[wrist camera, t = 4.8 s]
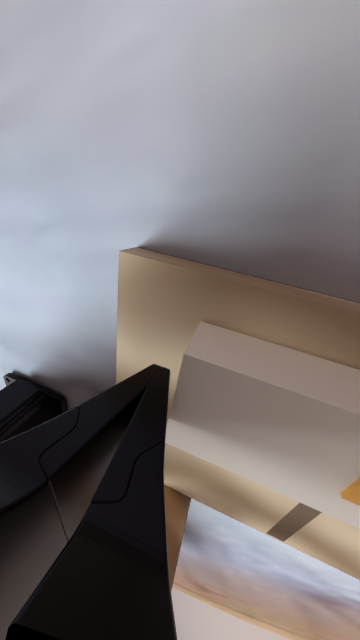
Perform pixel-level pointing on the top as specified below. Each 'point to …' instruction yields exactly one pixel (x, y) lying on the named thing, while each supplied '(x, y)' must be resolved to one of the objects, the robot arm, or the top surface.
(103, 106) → the top surface
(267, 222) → the top surface
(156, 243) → the top surface
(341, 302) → the plank
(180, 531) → the brown knobbed cylinder
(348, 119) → the top surface
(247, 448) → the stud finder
